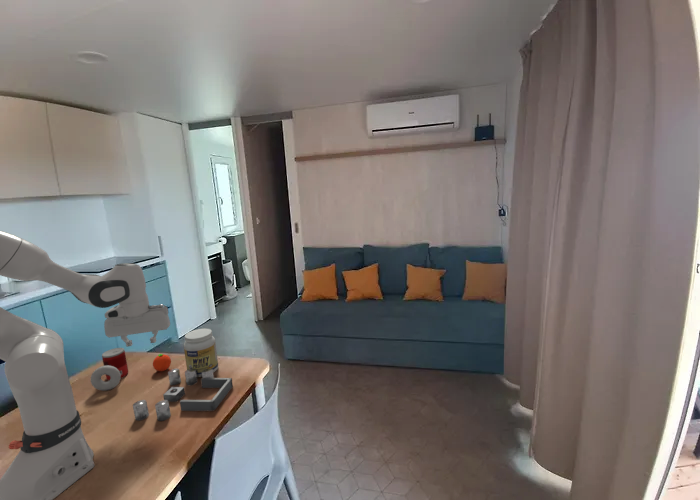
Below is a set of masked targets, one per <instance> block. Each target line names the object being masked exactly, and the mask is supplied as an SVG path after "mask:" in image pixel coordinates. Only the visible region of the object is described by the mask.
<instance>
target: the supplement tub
mask: <svg viewBox="0 0 700 500" xmlns="http://www.w3.org/2000/svg"><path fill="white" fill-rule="evenodd" d="M183 351H184V352H183V353H184V358H185V365H186V370H188V369H196V374H197V378H202V371H203V370H205V369H209V368H211V369H213V374H214V373H215V372H216V371H217V370H218V369H219V362H218V361H219V360H218V354H217V353H218V352H217V344H216V338H215V337H214V336H213V331H212V329H211V328H198V329H197V328H196V329H194V330H192V331H189V332H187V333H186V334H185V335H184V343H183Z"/></svg>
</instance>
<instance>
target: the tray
mask: <svg viewBox="0 0 700 500" xmlns="http://www.w3.org/2000/svg"><path fill="white" fill-rule="evenodd" d="M200 383H201V388H202V389H203V388H205V389H218V388H219V390H218V391H217V393H216V394H215V395H214V396H213V397H212V399H180V400H179V403H180V404H179V406H180V410H181V411H184V412H185V411H186V412H189V411H190V412H215V411H216V410H217V408H218V406H219V405H221V403H222V402H223V400H224V398H225V397H226V396H227V395H228V393H230V391H231V390H232V388H233V385H234V384H233V378H232V377H214V378H202V377H201V379H200Z"/></svg>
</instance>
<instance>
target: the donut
mask: <svg viewBox="0 0 700 500" xmlns="http://www.w3.org/2000/svg"><path fill="white" fill-rule="evenodd" d="M106 374H107V375H109V376H110V377H111V379H110V380H107V381H105V380H103V379H102V377H103V376H104V375H105V376H106ZM121 379H122V378H121V374H120V372H119V370H118V369H117V368H115V367H113V366H109V365H107V366H104V365H102V366H99V367H98V368H96V369H95V370H94V371H93V372H92V373H91V376H90V383H91V386H92V387H93V388H94V389H96V390H98V391H101V392H102V391H103V392H104V391H110V390H112V389H114V388H116V387H117V386H118V385H119V383H120V382H121Z"/></svg>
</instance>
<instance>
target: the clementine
mask: <svg viewBox="0 0 700 500" xmlns="http://www.w3.org/2000/svg"><path fill="white" fill-rule="evenodd" d="M171 365H172V360H171V357H170V356H169V355H168V354H163V353H159V354H158V355H157V356H156V357H155V358H154V359H153V361H152V367H153V369H154V370H155V371H157V372H165V371H167V370H168V369H169V368H170V366H171Z"/></svg>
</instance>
